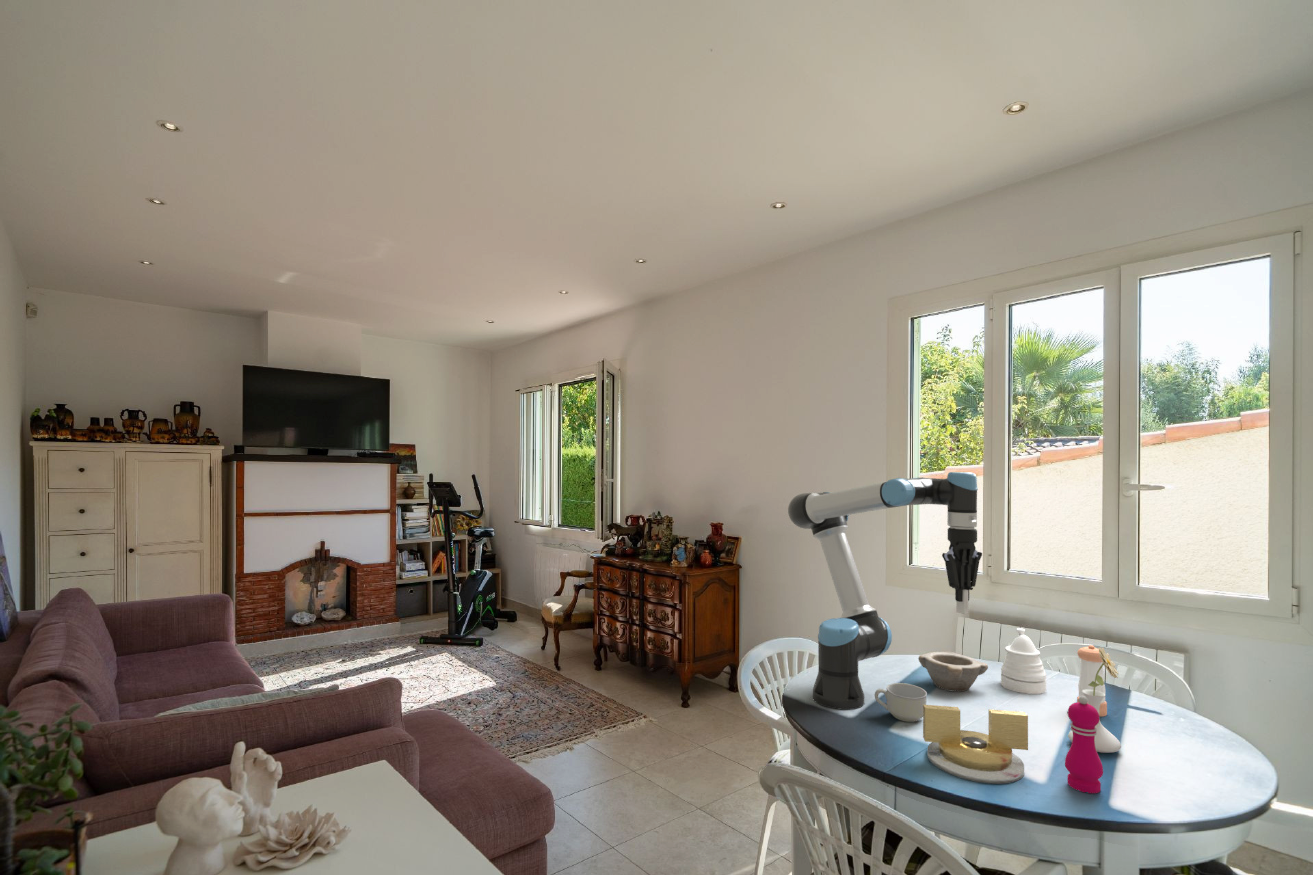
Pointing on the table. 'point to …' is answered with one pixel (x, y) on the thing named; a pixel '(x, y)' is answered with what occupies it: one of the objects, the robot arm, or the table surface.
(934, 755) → the silver round plate
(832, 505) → the robot arm
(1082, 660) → the salt shaker
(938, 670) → the mortar
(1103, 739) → the flower in vase
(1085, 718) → the pepper mill
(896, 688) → the teacup
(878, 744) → the table surface
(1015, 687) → the honey pot
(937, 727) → the gold twin-plate stand
